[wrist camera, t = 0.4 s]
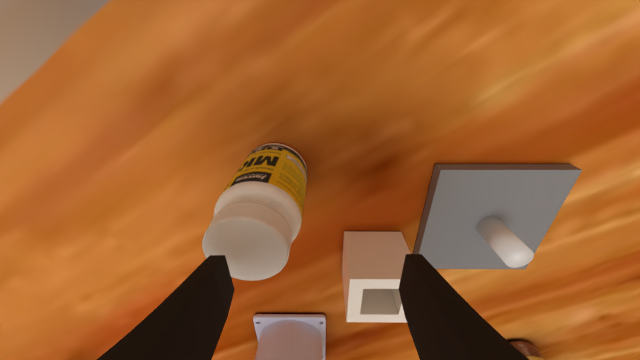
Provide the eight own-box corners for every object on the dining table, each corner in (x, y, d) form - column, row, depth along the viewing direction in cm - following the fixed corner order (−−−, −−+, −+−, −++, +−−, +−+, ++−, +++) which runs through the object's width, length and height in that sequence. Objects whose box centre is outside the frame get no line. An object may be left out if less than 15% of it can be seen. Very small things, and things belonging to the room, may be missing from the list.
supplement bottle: (285, 129, 17) (256, 191, 9) (319, 180, 19) (317, 265, 11) (232, 161, 18) (169, 238, 11) (269, 206, 20) (238, 298, 13)
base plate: (517, 260, 23) (558, 305, 19) (411, 260, 23) (430, 304, 19) (569, 164, 18) (639, 196, 14) (434, 164, 18) (466, 196, 14)
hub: (393, 271, 24) (409, 322, 19) (341, 271, 24) (346, 322, 19) (401, 231, 21) (421, 279, 17) (344, 231, 21) (350, 279, 17)
